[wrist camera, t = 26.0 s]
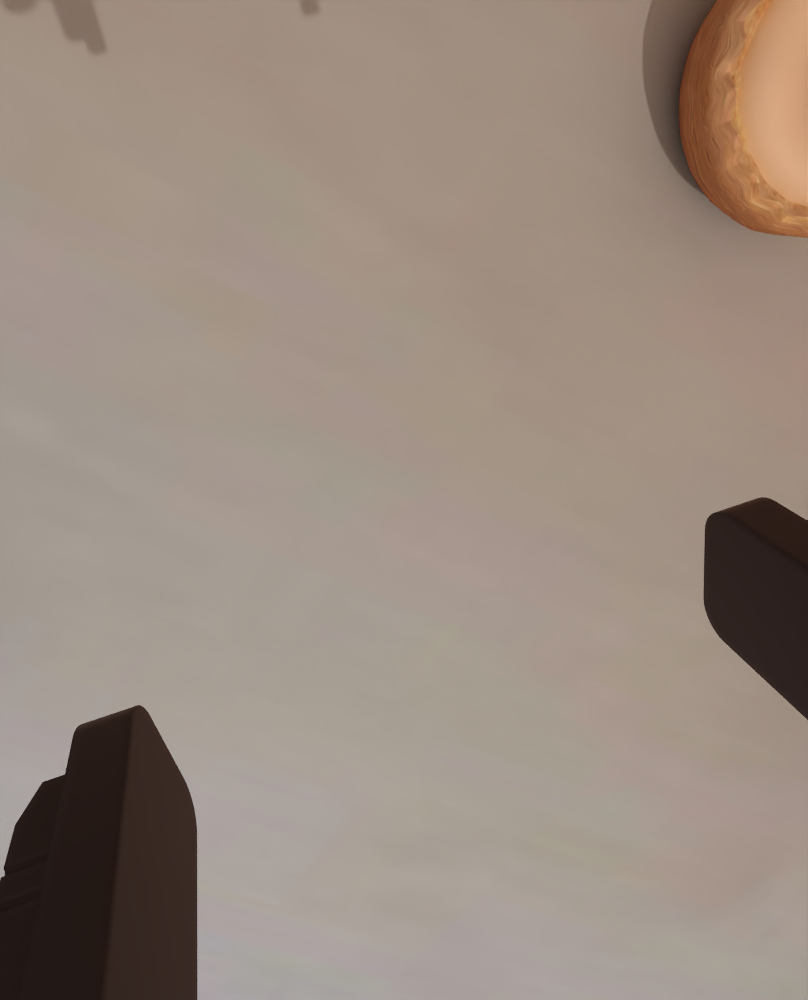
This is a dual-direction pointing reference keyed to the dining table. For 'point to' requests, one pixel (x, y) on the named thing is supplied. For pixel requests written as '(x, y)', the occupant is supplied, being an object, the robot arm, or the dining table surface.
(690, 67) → the pastry
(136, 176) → the dining table surface
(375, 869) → the dining table surface
